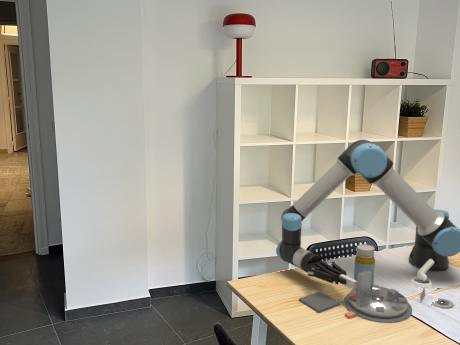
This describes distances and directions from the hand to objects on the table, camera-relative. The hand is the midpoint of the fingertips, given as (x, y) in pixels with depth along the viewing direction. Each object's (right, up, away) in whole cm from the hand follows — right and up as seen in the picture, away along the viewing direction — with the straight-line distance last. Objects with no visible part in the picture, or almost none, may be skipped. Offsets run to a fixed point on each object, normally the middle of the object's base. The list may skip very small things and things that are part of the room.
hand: (355, 285), depth 148 cm
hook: (+30, -4, +18) cm, 35 cm away
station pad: (-11, -7, +5) cm, 14 cm away
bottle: (+8, -5, +18) cm, 20 cm away
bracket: (+29, -7, +5) cm, 30 cm away
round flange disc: (+8, -7, +3) cm, 11 cm away
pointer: (-3, -9, -4) cm, 10 cm away
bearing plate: (+8, -7, +3) cm, 11 cm away
